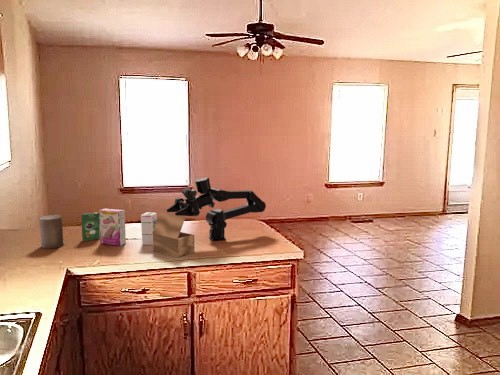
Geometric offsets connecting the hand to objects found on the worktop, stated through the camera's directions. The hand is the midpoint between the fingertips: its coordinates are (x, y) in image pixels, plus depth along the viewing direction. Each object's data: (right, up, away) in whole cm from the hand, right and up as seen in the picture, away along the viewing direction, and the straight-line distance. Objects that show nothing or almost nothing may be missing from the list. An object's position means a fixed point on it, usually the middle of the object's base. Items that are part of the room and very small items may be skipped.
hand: (170, 212), depth 226 cm
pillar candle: (-55, -16, +3) cm, 58 cm away
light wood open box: (+2, -17, -7) cm, 18 cm away
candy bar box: (-28, -15, +6) cm, 33 cm away
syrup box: (-11, -15, +7) cm, 20 cm away
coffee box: (-41, -14, +14) cm, 45 cm away
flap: (+1, -5, -10) cm, 12 cm away
